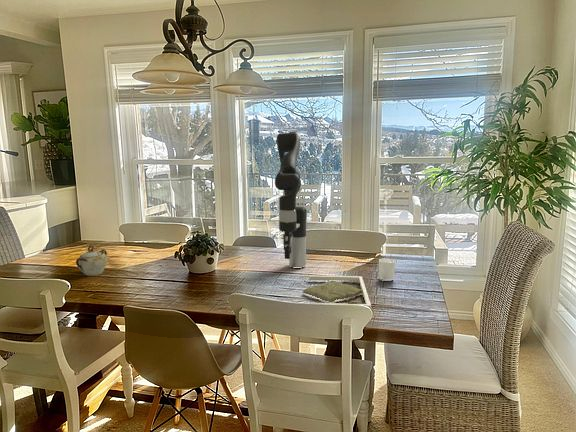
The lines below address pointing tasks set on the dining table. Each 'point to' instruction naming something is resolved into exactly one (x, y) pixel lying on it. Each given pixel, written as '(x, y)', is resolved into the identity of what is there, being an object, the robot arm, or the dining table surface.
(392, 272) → the white cup
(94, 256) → the sugar bowl
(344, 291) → the decorative tile
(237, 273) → the dining table surface
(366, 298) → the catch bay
